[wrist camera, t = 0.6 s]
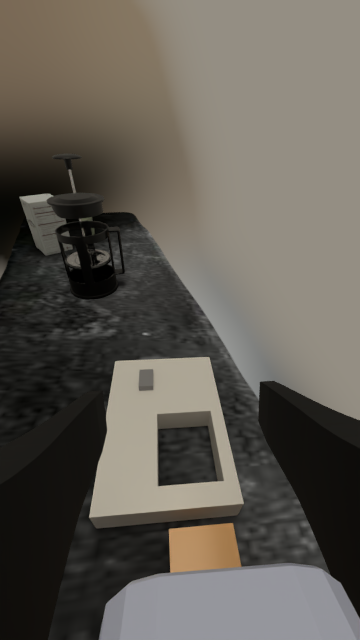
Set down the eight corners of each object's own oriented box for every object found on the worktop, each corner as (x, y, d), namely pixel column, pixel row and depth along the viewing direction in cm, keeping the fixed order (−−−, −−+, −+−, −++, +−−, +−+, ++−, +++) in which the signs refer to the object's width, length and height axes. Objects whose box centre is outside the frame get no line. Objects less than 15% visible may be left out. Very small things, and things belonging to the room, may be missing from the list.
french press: (63, 301, 47) (17, 156, 33) (71, 278, 54) (36, 151, 40) (126, 296, 49) (108, 157, 35) (125, 274, 56) (110, 151, 42)
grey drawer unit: (36, 247, 67) (18, 196, 60) (63, 241, 71) (50, 192, 64) (44, 256, 63) (27, 202, 55) (73, 249, 67) (60, 198, 59)
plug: (235, 652, 16) (258, 656, 12) (173, 660, 16) (173, 667, 11) (219, 548, 20) (232, 522, 16) (169, 553, 20) (168, 529, 15)
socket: (237, 515, 22) (245, 500, 19) (96, 528, 21) (86, 514, 18) (207, 372, 34) (209, 352, 32) (118, 376, 33) (114, 356, 31)
